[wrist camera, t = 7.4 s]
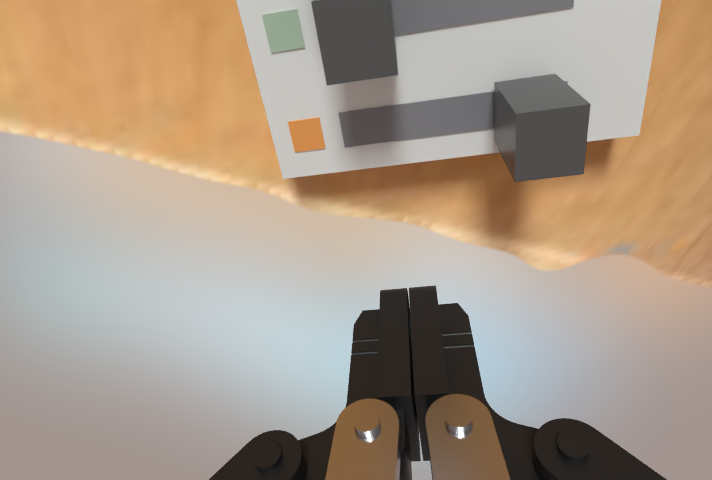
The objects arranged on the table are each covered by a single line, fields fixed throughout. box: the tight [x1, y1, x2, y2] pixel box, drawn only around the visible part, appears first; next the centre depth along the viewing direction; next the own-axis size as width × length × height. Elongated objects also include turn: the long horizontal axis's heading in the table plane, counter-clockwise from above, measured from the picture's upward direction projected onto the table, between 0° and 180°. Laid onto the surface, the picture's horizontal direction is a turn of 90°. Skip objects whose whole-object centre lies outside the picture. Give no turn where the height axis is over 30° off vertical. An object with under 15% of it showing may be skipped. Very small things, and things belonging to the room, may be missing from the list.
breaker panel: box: [236, 0, 661, 179], centre depth 22 cm, size 20×16×8 cm
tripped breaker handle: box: [494, 74, 591, 182], centre depth 23 cm, size 3×3×5 cm
